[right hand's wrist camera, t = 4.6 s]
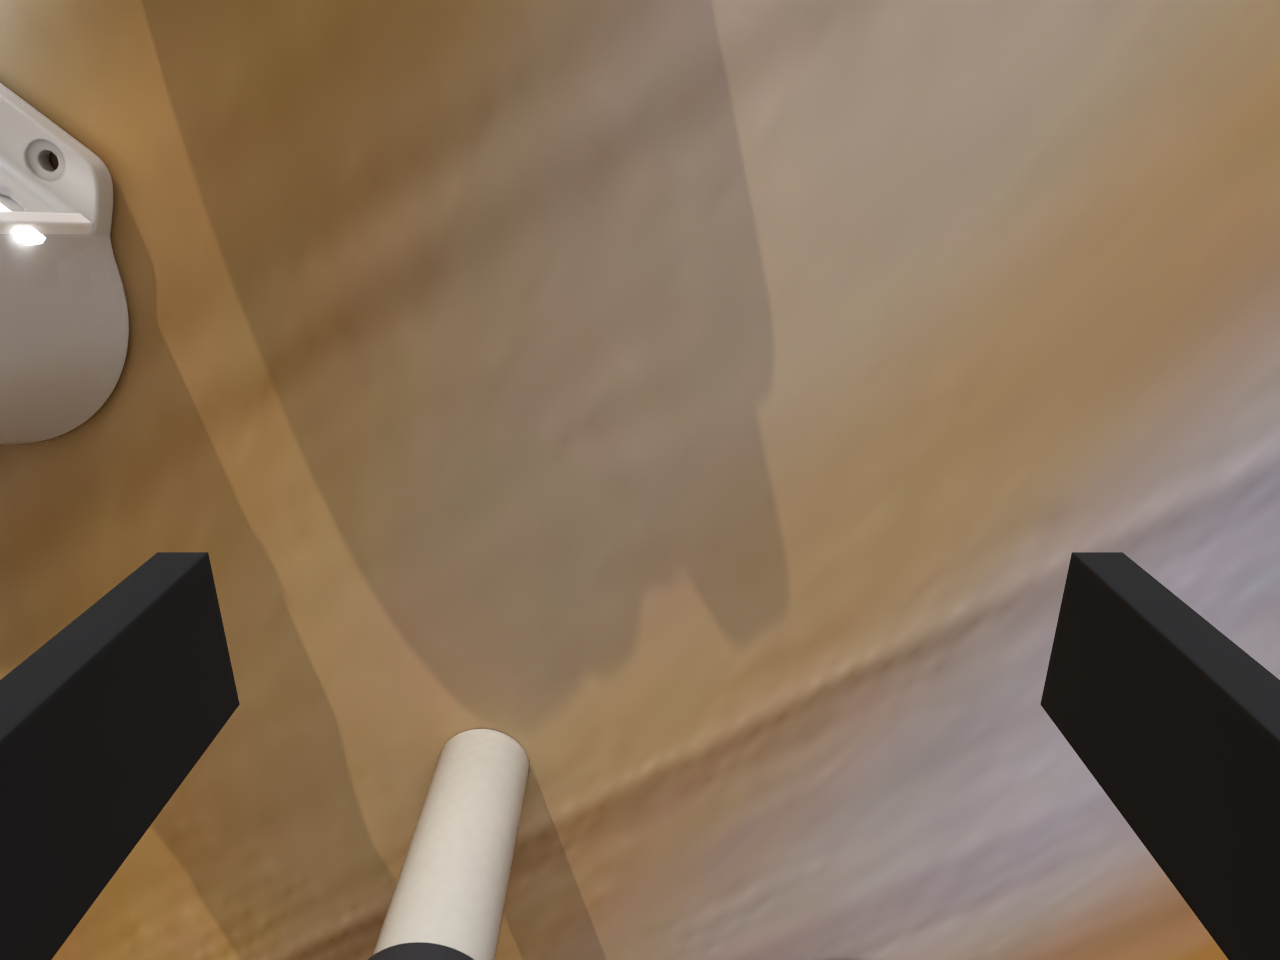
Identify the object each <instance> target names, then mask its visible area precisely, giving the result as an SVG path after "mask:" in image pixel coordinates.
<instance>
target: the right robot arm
mask: <svg viewBox="0 0 1280 960" xmlns="http://www.w3.org/2000/svg"><path fill="white" fill-rule="evenodd" d="M238 706H239V700H238V695H237V691H236V686H235V681H234V676H233V671H232V666H231V662H230V657H229V652H228V647H227V642H226V637H225V633H224V628H223V623H222V618H221V613H220V608H219V604H218V599H217V594H216V589H215V584H214V579H213V574H212V570H211V565H210V560H209V555H208V553H156V554H155V555H154V556H153V557H152V558H150V559H149V560H148V561H147V562H145V563H144V564H143V565H142V566H140V567H139V568H138V569H137V570H136V571H134V572H133V573H132V574H131V575H129V576H128V577H127V578H126V579H124V580H123V581H122V582H121V583H119V584H118V585H117V586H116V587H115V588H113V589H112V590H111V591H110V592H108V593H107V594H106V595H105V596H103V597H102V598H101V599H100V600H99V601H97V602H96V603H95V604H94V605H92V606H91V607H90V608H89V609H87V610H86V611H85V612H84V613H83V614H81V615H80V616H79V617H78V618H76V619H75V620H74V621H73V622H71V623H70V624H69V625H68V626H67V627H65V628H64V629H63V630H62V631H60V632H59V633H58V634H57V635H55V636H54V637H53V638H52V639H51V640H49V641H48V642H47V643H46V644H44V645H43V646H42V647H41V648H39V649H38V650H37V651H36V652H35V653H33V654H32V655H31V656H30V657H28V658H27V659H26V660H25V661H23V662H22V663H21V664H20V665H19V666H17V667H16V668H15V669H14V670H12V671H11V672H10V673H9V674H7V675H6V676H5V677H4V678H3V679H1V680H0V960H51V959H52V958H53V957H54V955H55V954H56V953H57V951H58V950H59V948H60V947H61V946H62V944H63V943H64V942H65V940H66V939H67V938H68V936H69V935H70V934H71V932H72V931H73V929H74V928H75V927H76V925H77V924H78V923H79V921H80V920H81V919H82V917H83V916H84V915H85V913H86V912H87V911H88V909H89V908H90V906H91V905H92V904H93V902H94V901H95V900H96V898H97V897H98V896H99V894H100V893H101V892H102V890H103V889H104V887H105V886H106V885H107V883H108V882H109V881H110V879H111V878H112V877H113V875H114V874H115V873H116V871H117V870H118V868H119V867H120V866H121V864H122V863H123V862H124V860H125V859H126V858H127V856H128V855H129V854H130V852H131V851H132V849H133V848H134V847H135V845H136V844H137V843H138V841H139V840H140V839H141V837H142V836H143V835H144V833H145V832H146V830H147V829H148V828H149V826H150V825H151V824H152V822H153V821H154V820H155V818H156V817H157V816H158V814H159V813H160V811H161V810H162V809H163V807H164V806H165V805H166V803H167V802H168V801H169V799H170V798H171V797H172V795H173V794H174V792H175V791H176V790H177V788H178V787H179V786H180V784H181V783H182V782H183V780H184V779H185V778H186V776H187V775H188V773H189V772H190V771H191V769H192V768H193V767H194V765H195V764H196V763H197V761H198V760H199V759H200V757H201V756H202V754H203V753H204V752H205V750H206V749H207V748H208V746H209V745H210V744H211V742H212V741H213V740H214V738H215V737H216V735H217V734H218V733H219V731H220V730H221V729H222V727H223V726H224V725H225V723H226V722H227V721H228V719H229V718H230V716H231V715H232V714H233V712H234V711H235V710H236V708H237V707H238ZM1041 706H1042V707H1043V708H1044V710H1045V711H1046V712H1047V714H1048V715H1049V716H1050V718H1051V719H1052V721H1053V722H1054V723H1055V725H1056V726H1057V727H1058V729H1059V730H1060V731H1061V733H1062V734H1063V735H1064V737H1065V738H1066V740H1067V741H1068V742H1069V744H1070V745H1071V746H1072V748H1073V749H1074V750H1075V752H1076V753H1077V754H1078V756H1079V757H1080V759H1081V760H1082V761H1083V763H1084V764H1085V765H1086V767H1087V768H1088V769H1089V771H1090V772H1091V773H1092V775H1093V776H1094V778H1095V779H1096V780H1097V782H1098V783H1099V784H1100V786H1101V787H1102V788H1103V790H1104V791H1105V792H1106V794H1107V795H1108V797H1109V798H1110V799H1111V801H1112V802H1113V803H1114V805H1115V806H1116V807H1117V809H1118V810H1119V811H1120V813H1121V814H1122V816H1123V817H1124V818H1125V820H1126V821H1127V822H1128V824H1129V825H1130V826H1131V828H1132V829H1133V830H1134V832H1135V833H1136V835H1137V836H1138V837H1139V839H1140V840H1141V841H1142V843H1143V844H1144V845H1145V847H1146V848H1147V849H1148V851H1149V852H1150V854H1151V855H1152V856H1153V858H1154V859H1155V860H1156V862H1157V863H1158V864H1159V866H1160V867H1161V868H1162V870H1163V871H1164V873H1165V874H1166V875H1167V877H1168V878H1169V879H1170V881H1171V882H1172V883H1173V885H1174V886H1175V887H1176V889H1177V890H1178V892H1179V893H1180V894H1181V896H1182V897H1183V898H1184V900H1185V901H1186V902H1187V904H1188V905H1189V906H1190V908H1191V909H1192V911H1193V912H1194V913H1195V915H1196V916H1197V917H1198V919H1199V920H1200V921H1201V923H1202V924H1203V925H1204V927H1205V928H1206V929H1207V931H1208V932H1209V934H1210V935H1211V936H1212V938H1213V939H1214V940H1215V942H1216V943H1217V944H1218V946H1219V947H1220V948H1221V950H1222V951H1223V953H1224V954H1225V955H1226V957H1227V958H1228V959H1229V960H1280V680H1279V679H1277V678H1276V677H1275V676H1274V675H1273V674H1271V673H1270V672H1269V671H1268V670H1266V669H1265V668H1264V667H1263V666H1261V665H1260V664H1259V663H1258V662H1257V661H1255V660H1254V659H1253V658H1252V657H1250V656H1249V655H1248V654H1247V653H1245V652H1244V651H1243V650H1242V649H1241V648H1239V647H1238V646H1237V645H1236V644H1234V643H1233V642H1232V641H1231V640H1229V639H1228V638H1227V637H1226V636H1225V635H1223V634H1222V633H1221V632H1220V631H1218V630H1217V629H1216V628H1215V627H1213V626H1212V625H1211V624H1210V623H1209V622H1207V621H1206V620H1205V619H1204V618H1202V617H1201V616H1200V615H1199V614H1197V613H1196V612H1195V611H1194V610H1193V609H1191V608H1190V607H1189V606H1188V605H1186V604H1185V603H1184V602H1183V601H1181V600H1180V599H1179V598H1178V597H1177V596H1175V595H1174V594H1173V593H1172V592H1170V591H1169V590H1168V589H1167V588H1165V587H1164V586H1163V585H1162V584H1161V583H1159V582H1158V581H1157V580H1156V579H1154V578H1153V577H1152V576H1151V575H1149V574H1148V573H1147V572H1146V571H1144V570H1143V569H1142V568H1141V567H1140V566H1138V565H1137V564H1136V563H1135V562H1133V561H1132V560H1131V559H1130V558H1128V557H1127V556H1126V555H1125V554H1124V553H1072V555H1071V560H1070V565H1069V570H1068V574H1067V579H1066V584H1065V589H1064V594H1063V599H1062V603H1061V608H1060V613H1059V618H1058V623H1057V628H1056V633H1055V637H1054V642H1053V647H1052V652H1051V657H1050V662H1049V666H1048V671H1047V676H1046V681H1045V686H1044V691H1043V695H1042V700H1041Z"/></svg>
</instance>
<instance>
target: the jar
mask: <svg viewBox="0 0 1280 960" xmlns="http://www.w3.org/2000/svg"><path fill="white" fill-rule="evenodd" d="M528 775H529V761H528V758H527V755H526V753H525V751H524V750H523V748H522V747H521V746H520V745H519V744H518V743H517V742H516V741H515V740H514V739H512V738H511V737H509V736H508V735H506V734H504V733H501V732H498V731H495V730H490V729H473V730H468V731H464V732H462V733H460V734H457V735H456V736H454V737H453V738H451V739H450V740H449V741H448V742H447V743H446V744H445V746H444V747H443V749H442V751H441V753H440V756H439V759H438V762H437V765H436V768H435V771H434V774H433V777H432V780H431V783H430V786H429V789H428V792H427V795H426V798H425V801H424V804H423V807H422V809H421V812H420V815H419V818H418V821H417V824H416V827H415V830H414V833H413V836H412V839H411V842H410V845H409V848H408V851H407V854H406V857H405V860H404V863H403V866H402V869H401V872H400V875H399V878H398V881H397V884H396V887H395V890H394V893H393V896H392V899H391V902H390V904H389V907H388V910H387V913H386V916H385V919H384V922H383V925H382V928H381V931H380V934H379V937H378V940H377V943H376V946H375V949H374V952H373V955H374V954H376V953H377V952H379V951H381V950H383V949H386V948H388V947H391V946H394V945H398V944H404V943H413V942H425V943H434V944H439V945H444V946H447V947H450V948H453V949H456V950H458V951H461V952H463V953H465V954H466V955H468V956H470V957H471V958H473V959H474V960H495V957H496V951H497V946H498V940H499V935H500V929H501V924H502V918H503V913H504V907H505V902H506V896H507V891H508V885H509V880H510V874H511V869H512V863H513V858H514V852H515V847H516V841H517V836H518V830H519V825H520V819H521V814H522V808H523V803H524V797H525V792H526V786H527V780H528ZM373 955H372V956H373Z"/></svg>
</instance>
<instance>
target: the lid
mask: <svg viewBox="0 0 1280 960" xmlns="http://www.w3.org/2000/svg"><path fill="white" fill-rule="evenodd" d="M368 960H474V959H473V958H471V957H470V956H468V955H466V954H465V953H463V952H461V951H458V950H456V949H453V948H450V947H447V946H444V945H439V944H434V943H425V942H413V943H404V944H398V945H394V946H391V947H388V948H386V949H383V950H381V951H379V952H377V953H376V954H374V955H373V956H371V957H370V958H369V959H368Z"/></svg>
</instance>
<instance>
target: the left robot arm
mask: <svg viewBox="0 0 1280 960" xmlns="http://www.w3.org/2000/svg"><path fill="white" fill-rule="evenodd" d="M51 152H53V153H54V154H55V155H56V157H57V159H58V162H59V165H58V168H57V169H56V170H55V169H54V168H53V167H52V166H51V164H50V161H49V155H50V153H51ZM112 213H113V184H112V178H111V175H110V173H109V170H108V168H107V167H106V165H105V164H104V163H103V161H102V160H101V159H100V158H99V157H98V156H97V155H96V154H94V153H93V152H92V151H90V150H89V149H88V148H86V147H85V146H84V145H82V144H81V143H80V142H78V141H77V140H76V139H74V138H73V137H72V136H70V135H69V134H68V133H66V132H65V131H64V130H62V129H61V128H60V127H58V126H57V125H56V124H55V123H53V122H52V121H51V120H49V119H48V118H47V117H45V116H44V115H43V114H41V113H40V112H39V111H37V110H36V109H35V108H33V107H32V106H31V105H29V104H28V103H27V102H25V101H24V100H23V99H21V98H20V97H19V96H17V95H16V94H15V93H13V92H12V91H11V90H9V89H8V88H7V87H5V86H4V85H3V84H1V83H0V445H2V444H25V443H33V442H39V441H44V440H48V439H51V438H54V437H57V436H60V435H62V434H65V433H67V432H69V431H71V430H73V429H75V428H76V427H78V426H80V425H81V424H83V423H84V422H85V421H87V420H88V419H89V418H90V417H92V416H93V415H94V414H95V413H96V412H97V411H98V410H99V409H100V408H101V407H102V406H103V404H104V403H105V402H106V401H107V399H108V398H109V396H110V395H111V393H112V392H113V390H114V388H115V386H116V384H117V382H118V380H119V378H120V375H121V373H122V370H123V367H124V364H125V359H126V355H127V349H128V340H129V317H128V307H127V301H126V296H125V292H124V287H123V284H122V280H121V277H120V274H119V271H118V267H117V264H116V261H115V258H114V254H113V250H112V245H111V239H110V233H111V224H112Z"/></svg>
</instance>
